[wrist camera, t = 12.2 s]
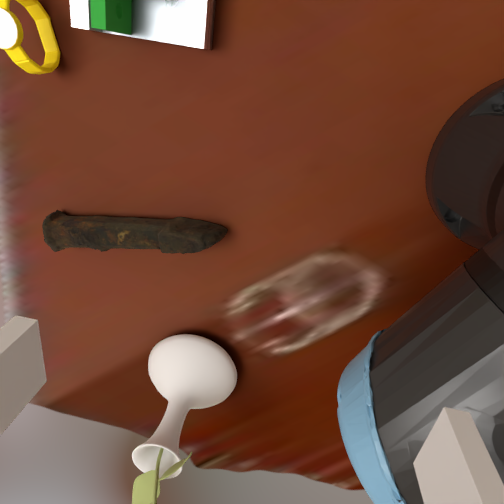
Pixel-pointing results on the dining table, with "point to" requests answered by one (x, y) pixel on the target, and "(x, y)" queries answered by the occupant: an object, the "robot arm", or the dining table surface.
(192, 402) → the flower in vase
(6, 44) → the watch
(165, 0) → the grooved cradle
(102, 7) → the pipe clamp
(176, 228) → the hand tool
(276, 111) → the dining table surface
